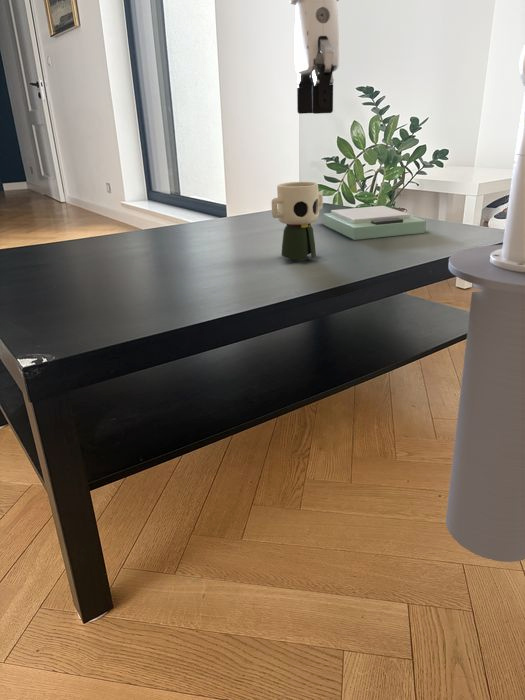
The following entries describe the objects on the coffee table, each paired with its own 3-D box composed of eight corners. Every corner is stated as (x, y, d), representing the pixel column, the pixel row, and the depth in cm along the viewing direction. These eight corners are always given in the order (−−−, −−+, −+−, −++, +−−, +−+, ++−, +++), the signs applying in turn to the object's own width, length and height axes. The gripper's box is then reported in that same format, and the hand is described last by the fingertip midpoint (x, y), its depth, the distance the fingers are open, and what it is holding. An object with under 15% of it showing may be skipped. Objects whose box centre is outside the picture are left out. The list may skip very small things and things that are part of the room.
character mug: (286, 268, 94) (284, 189, 88) (262, 260, 99) (259, 186, 94) (334, 257, 99) (335, 182, 94) (309, 250, 104) (309, 179, 99)
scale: (425, 232, 115) (426, 216, 113) (354, 240, 111) (354, 223, 110) (386, 218, 131) (387, 204, 129) (323, 224, 127) (323, 210, 126)
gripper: (356, -23, 76) (353, 112, 83) (322, 0, 91) (321, 112, 98) (304, -23, 75) (305, 114, 82) (278, 1, 90) (281, 114, 97)
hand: (314, 113), depth 90 cm, fingers open, 9 cm apart
